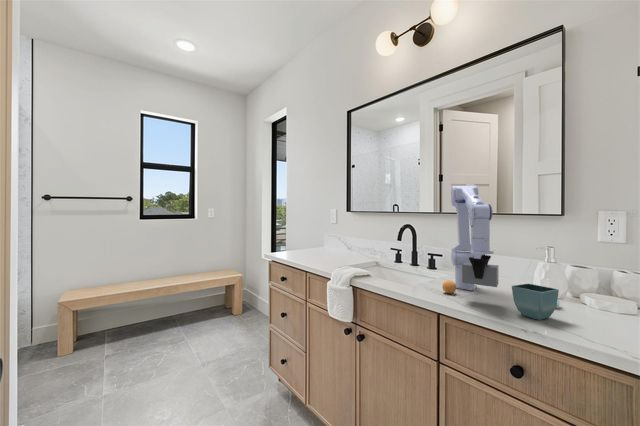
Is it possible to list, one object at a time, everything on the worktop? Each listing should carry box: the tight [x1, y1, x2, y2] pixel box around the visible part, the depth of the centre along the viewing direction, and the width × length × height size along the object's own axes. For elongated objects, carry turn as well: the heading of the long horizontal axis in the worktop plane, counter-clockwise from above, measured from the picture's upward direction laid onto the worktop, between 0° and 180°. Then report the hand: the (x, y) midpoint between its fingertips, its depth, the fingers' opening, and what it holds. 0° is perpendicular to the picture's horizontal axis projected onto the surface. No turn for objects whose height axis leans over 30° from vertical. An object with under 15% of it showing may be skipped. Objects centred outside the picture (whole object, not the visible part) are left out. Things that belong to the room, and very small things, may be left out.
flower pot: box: [511, 283, 560, 321], centre depth 86 cm, size 9×9×9 cm
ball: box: [442, 280, 457, 294], centre depth 112 cm, size 5×5×5 cm
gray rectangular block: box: [462, 262, 499, 288], centre depth 99 cm, size 6×10×6 cm, turn 53°
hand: (480, 276), depth 99 cm, fingers closed on gray rectangular block, 6 cm apart
